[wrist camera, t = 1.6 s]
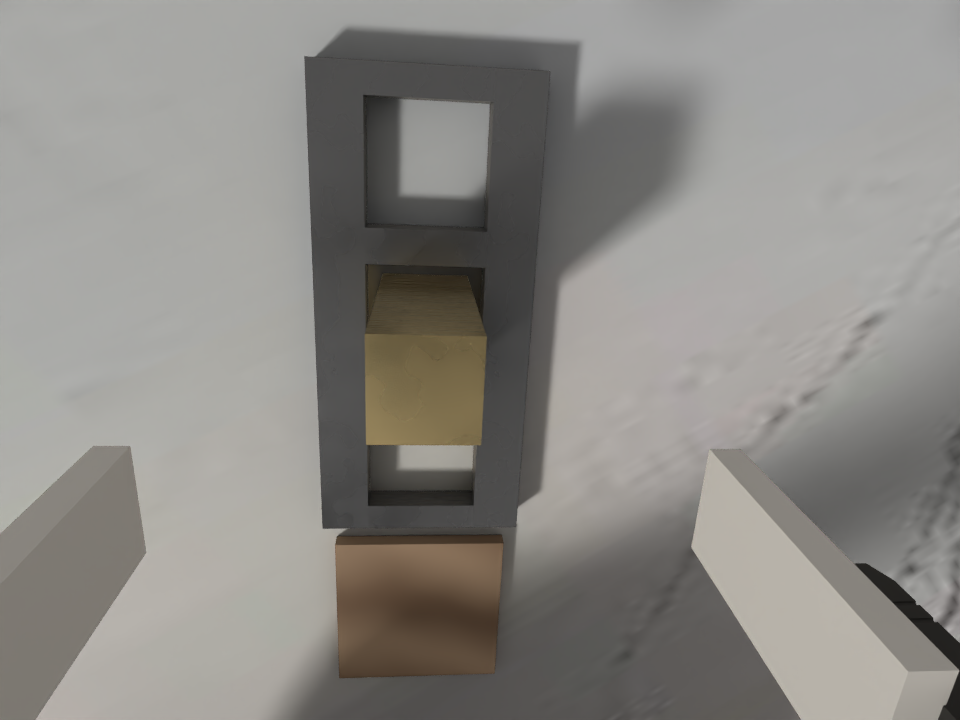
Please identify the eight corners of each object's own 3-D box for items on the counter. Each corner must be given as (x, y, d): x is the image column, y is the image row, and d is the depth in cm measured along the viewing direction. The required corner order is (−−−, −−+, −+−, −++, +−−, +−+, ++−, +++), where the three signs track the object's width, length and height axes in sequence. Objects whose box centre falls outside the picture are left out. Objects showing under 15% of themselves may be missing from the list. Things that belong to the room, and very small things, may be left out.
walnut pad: (493, 662, 38) (494, 673, 38) (341, 667, 38) (339, 678, 37) (501, 534, 35) (503, 543, 35) (337, 536, 35) (335, 545, 34)
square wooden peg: (464, 354, 32) (480, 445, 22) (383, 353, 32) (365, 445, 22) (467, 275, 31) (486, 336, 21) (383, 273, 30) (364, 333, 21)
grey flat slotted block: (512, 511, 35) (516, 527, 34) (326, 512, 34) (322, 528, 33) (543, 74, 28) (550, 71, 27) (310, 60, 27) (304, 56, 26)
